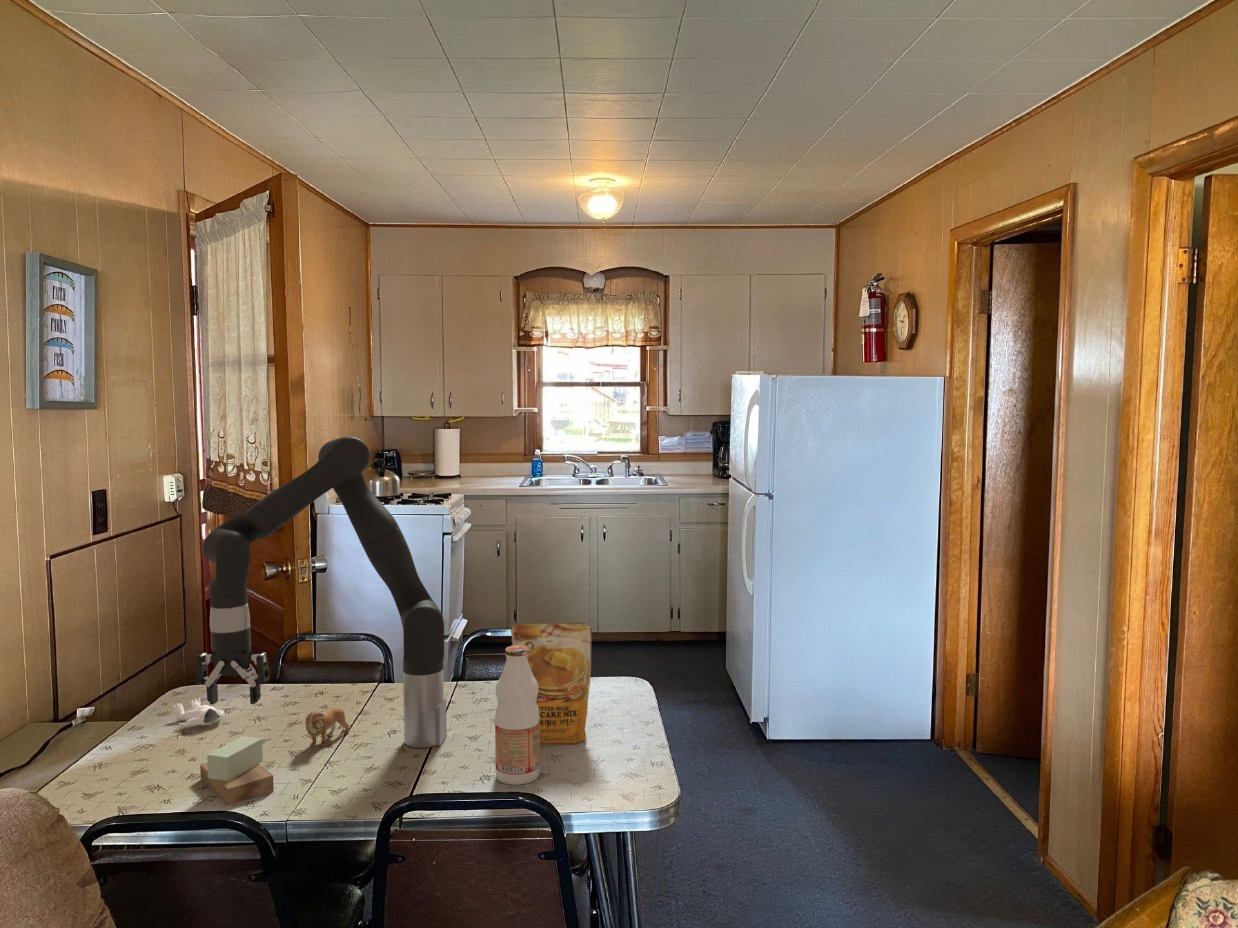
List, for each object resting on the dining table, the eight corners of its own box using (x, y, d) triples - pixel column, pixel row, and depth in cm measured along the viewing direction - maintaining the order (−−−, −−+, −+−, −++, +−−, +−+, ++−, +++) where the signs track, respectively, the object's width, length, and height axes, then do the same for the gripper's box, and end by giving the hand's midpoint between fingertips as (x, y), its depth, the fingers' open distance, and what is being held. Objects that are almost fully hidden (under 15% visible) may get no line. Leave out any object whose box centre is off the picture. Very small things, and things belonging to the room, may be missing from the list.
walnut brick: (244, 769, 189) (243, 752, 189) (273, 793, 177) (273, 775, 177) (200, 782, 183) (200, 764, 182) (228, 808, 171) (227, 788, 171)
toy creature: (208, 694, 223) (232, 692, 216) (212, 717, 223) (235, 717, 216) (161, 707, 214) (183, 706, 207) (164, 731, 213) (187, 731, 206)
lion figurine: (320, 753, 196) (319, 715, 195) (299, 751, 197) (298, 713, 197) (354, 729, 210) (353, 693, 210) (334, 727, 212) (333, 692, 211)
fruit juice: (506, 789, 178) (505, 657, 176) (488, 773, 186) (487, 645, 184) (547, 779, 183) (546, 650, 181) (527, 763, 191) (527, 639, 189)
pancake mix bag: (513, 734, 208) (512, 620, 205) (592, 734, 208) (592, 619, 206) (510, 745, 201) (509, 627, 199) (592, 745, 201) (591, 627, 199)
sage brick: (262, 761, 184) (261, 738, 183) (228, 781, 174) (227, 757, 174) (243, 758, 185) (242, 735, 185) (208, 778, 176) (207, 754, 175)
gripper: (272, 621, 181) (275, 696, 182) (205, 621, 181) (209, 696, 182) (256, 631, 173) (259, 709, 174) (186, 631, 174) (190, 709, 175)
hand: (234, 703), depth 178 cm, fingers open, 8 cm apart
